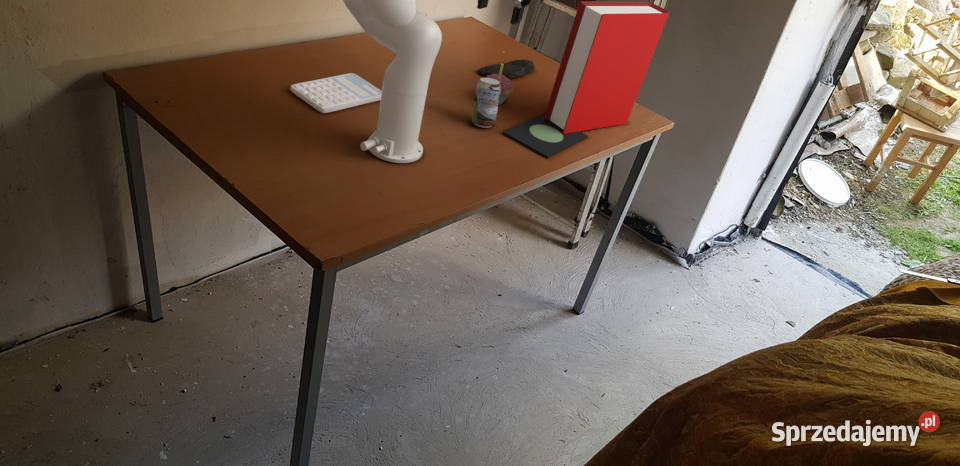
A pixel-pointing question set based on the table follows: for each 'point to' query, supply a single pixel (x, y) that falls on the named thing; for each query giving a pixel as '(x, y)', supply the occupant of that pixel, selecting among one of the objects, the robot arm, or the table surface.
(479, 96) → the beverage can
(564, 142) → the desk mat
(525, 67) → the wood
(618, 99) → the book
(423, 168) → the table surface
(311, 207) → the table surface
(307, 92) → the calculator
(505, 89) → the cupcake
